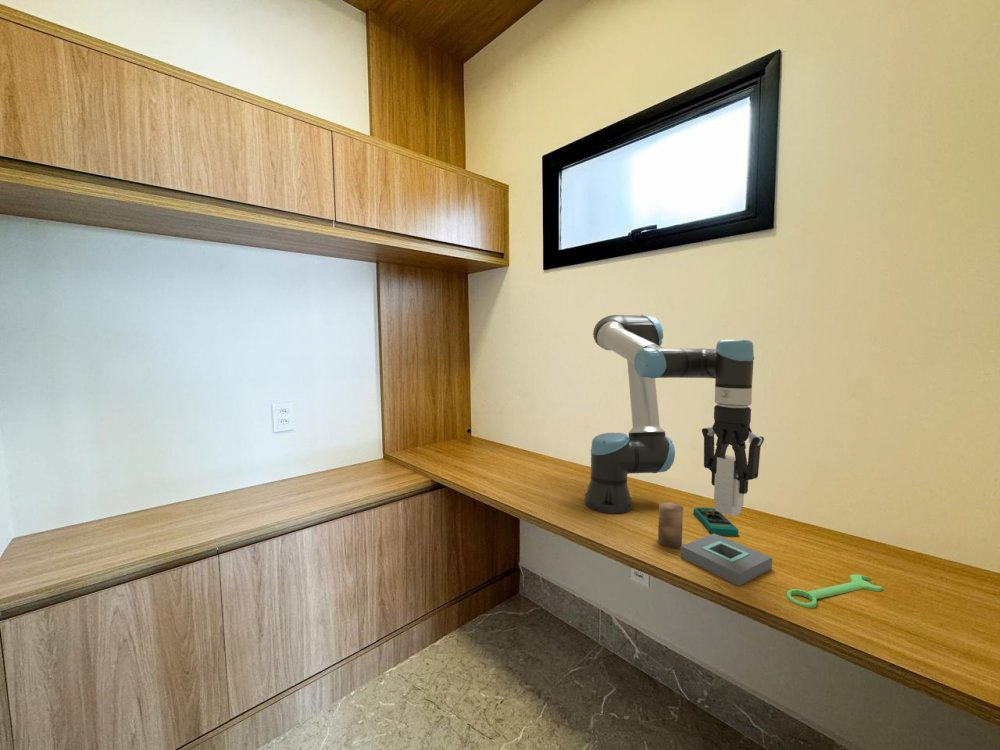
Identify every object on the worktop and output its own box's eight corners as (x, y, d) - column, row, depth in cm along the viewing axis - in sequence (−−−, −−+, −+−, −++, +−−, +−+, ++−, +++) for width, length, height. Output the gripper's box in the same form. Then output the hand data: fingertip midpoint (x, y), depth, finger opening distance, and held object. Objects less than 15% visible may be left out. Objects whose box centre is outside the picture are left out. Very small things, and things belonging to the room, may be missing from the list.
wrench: (887, 593, 86) (859, 579, 91) (888, 585, 86) (860, 571, 91) (805, 613, 78) (779, 596, 83) (806, 603, 78) (780, 587, 83)
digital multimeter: (717, 516, 124) (717, 506, 124) (739, 538, 109) (739, 528, 109) (692, 514, 125) (692, 505, 124) (711, 536, 110) (711, 526, 110)
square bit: (714, 510, 95) (717, 457, 94) (724, 507, 97) (726, 455, 96) (731, 516, 92) (734, 461, 91) (741, 513, 94) (743, 458, 93)
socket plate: (680, 557, 98) (681, 545, 98) (713, 543, 105) (714, 532, 105) (738, 586, 86) (739, 572, 86) (771, 568, 93) (772, 556, 93)
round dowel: (653, 541, 106) (654, 504, 105) (667, 536, 109) (668, 500, 108) (672, 550, 101) (673, 512, 100) (686, 545, 104) (687, 508, 103)
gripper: (689, 402, 98) (685, 494, 100) (763, 411, 84) (758, 519, 85) (707, 400, 102) (703, 489, 103) (781, 409, 87) (776, 512, 89)
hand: (728, 502), depth 94 cm, fingers closed on square bit, 4 cm apart
